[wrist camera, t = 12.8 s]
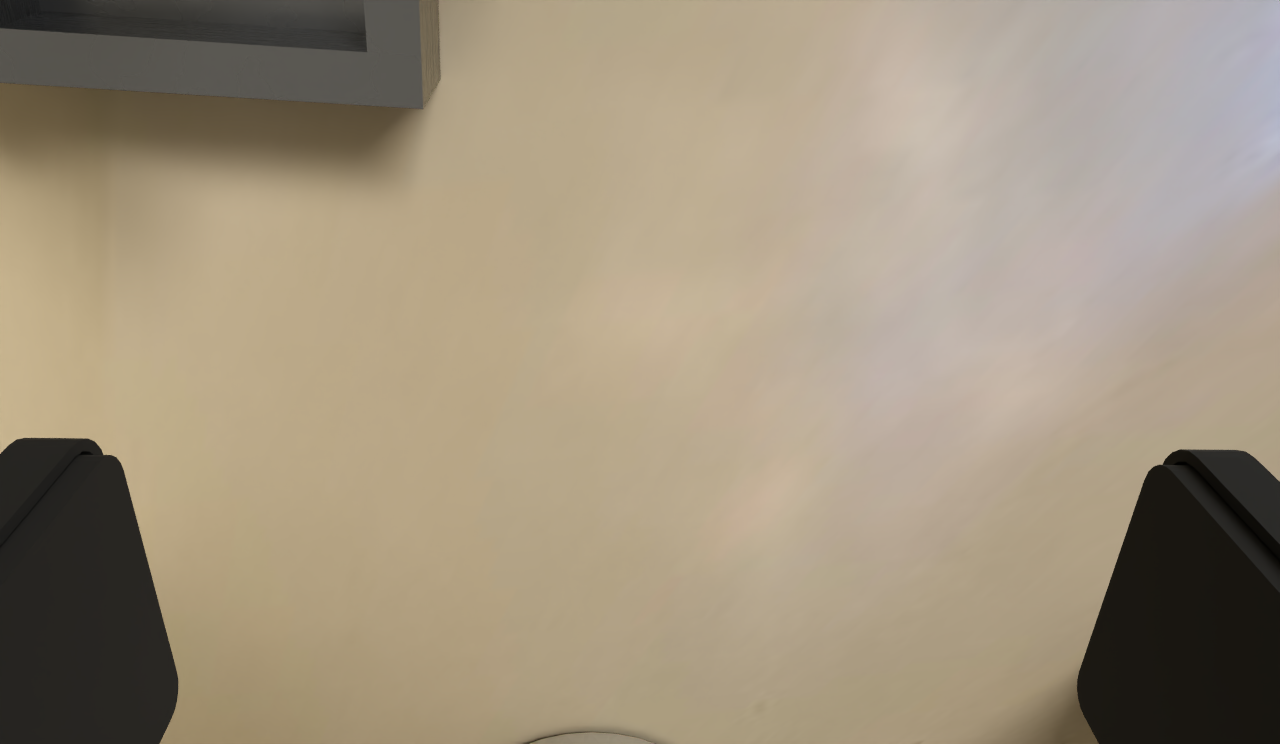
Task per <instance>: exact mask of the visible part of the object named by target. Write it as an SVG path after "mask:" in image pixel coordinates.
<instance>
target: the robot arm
mask: <svg viewBox="0 0 1280 744" xmlns="http://www.w3.org/2000/svg"><path fill="white" fill-rule="evenodd" d="M1077 692H1078V699H1079V703H1080V707H1081V710H1082V712H1083V715H1084V717H1085V719H1086V720H1087V722H1088V724H1089V726H1090V728H1091V730H1092V732H1093V733H1094V735H1095V737H1096V739H1097V741H1098V743H1099V744H1280V482H1279V481H1278V480H1277V479H1276V478H1275V477H1274V476H1273V475H1272V474H1271V473H1270V472H1269V471H1268V470H1267V469H1266V468H1265V467H1264V466H1263V465H1262V464H1261V463H1260V462H1258V461H1257V460H1256V459H1255V458H1254V457H1253V456H1251V455H1250V454H1248V453H1247V452H1244V451H1238V450H1178V451H1175V452H1172V453H1171V454H1170V455H1169V456H1168V457H1167V458H1166V459H1165V461H1164V463H1163V465H1157V466H1155V467H1153V468H1152V469H1151V470H1150V471H1149V472H1148V474H1147V476H1146V478H1145V480H1144V483H1143V486H1142V489H1141V492H1140V495H1139V498H1138V501H1137V504H1136V506H1135V509H1134V512H1133V515H1132V518H1131V521H1130V524H1129V527H1128V530H1127V533H1126V536H1125V539H1124V542H1123V545H1122V548H1121V550H1120V553H1119V556H1118V559H1117V562H1116V565H1115V568H1114V571H1113V574H1112V577H1111V580H1110V583H1109V586H1108V589H1107V592H1106V595H1105V597H1104V600H1103V603H1102V606H1101V609H1100V612H1099V615H1098V618H1097V621H1096V624H1095V627H1094V630H1093V633H1092V636H1091V639H1090V641H1089V644H1088V647H1087V650H1086V653H1085V656H1084V659H1083V662H1082V665H1081V668H1080V671H1079V675H1078V680H1077ZM177 696H178V676H177V671H176V667H175V663H174V660H173V656H172V652H171V648H170V644H169V641H168V637H167V633H166V629H165V625H164V622H163V618H162V614H161V610H160V606H159V603H158V599H157V595H156V591H155V588H154V584H153V580H152V576H151V572H150V569H149V565H148V561H147V557H146V553H145V550H144V546H143V542H142V538H141V535H140V531H139V527H138V523H137V519H136V516H135V512H134V508H133V504H132V500H131V497H130V493H129V489H128V485H127V482H126V478H125V474H124V470H123V468H122V465H121V463H120V462H119V460H118V459H117V458H116V457H114V456H112V455H103V453H102V450H101V448H100V447H99V446H98V445H97V444H96V442H94V441H92V440H90V439H74V438H23V439H17V440H16V441H14V442H13V443H11V444H10V445H9V446H8V447H7V448H6V449H5V450H4V451H3V452H2V453H1V454H0V744H159V743H160V741H161V739H162V737H163V735H164V733H165V731H166V729H167V727H168V725H169V722H170V720H171V718H172V716H173V713H174V710H175V706H176V702H177ZM530 744H655V743H652V742H649V741H646V740H643V739H640V738H636V737H631V736H626V735H620V734H615V733H597V732H586V733H572V734H563V735H559V736H554V737H549V738H544V739H541V740H538V741H535V742H532V743H530Z"/></svg>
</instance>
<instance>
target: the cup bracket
mask: <svg viewBox="0 0 1280 744" xmlns="http://www.w3.org/2000/svg"><path fill="white" fill-rule="evenodd" d="M439 81H440V46H439V11H438V0H0V83H13V84H29V85H45V86H61V87H77V88H93V89H109V90H125V91H141V92H157V93H174V94H190V95H206V96H222V97H238V98H254V99H270V100H286V101H302V102H318V103H334V104H350V105H367V106H383V107H399V108H415V109H424V107H425V105H426V103H427V102H428V100H429V98H430V96H431V95H432V93H433V91H434V89H435V88H436V86H437V84H438V82H439Z"/></svg>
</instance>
